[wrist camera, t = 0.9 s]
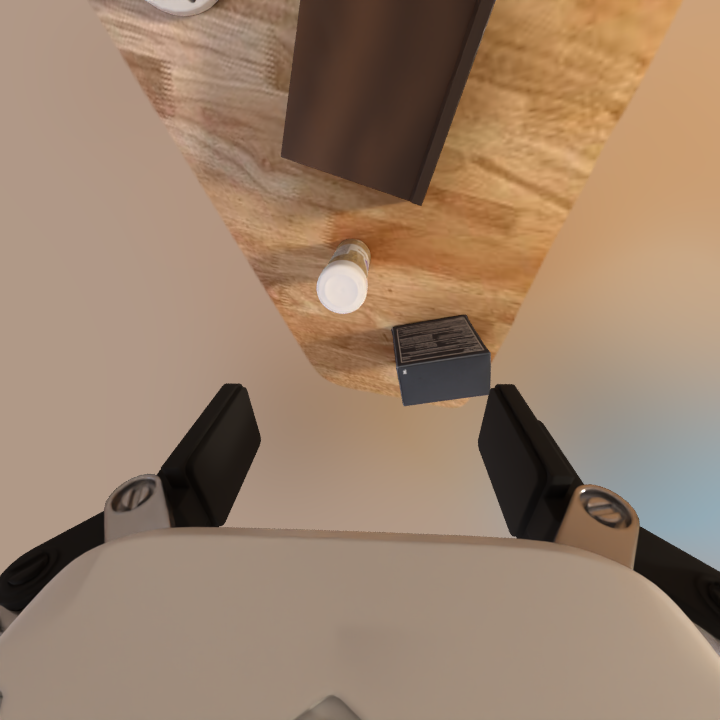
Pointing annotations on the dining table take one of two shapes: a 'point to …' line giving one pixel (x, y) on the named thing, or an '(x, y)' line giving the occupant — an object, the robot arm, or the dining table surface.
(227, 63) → the dining table surface
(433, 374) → the small box
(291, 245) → the dining table surface
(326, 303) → the sprinkles bottle
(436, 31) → the shelf
